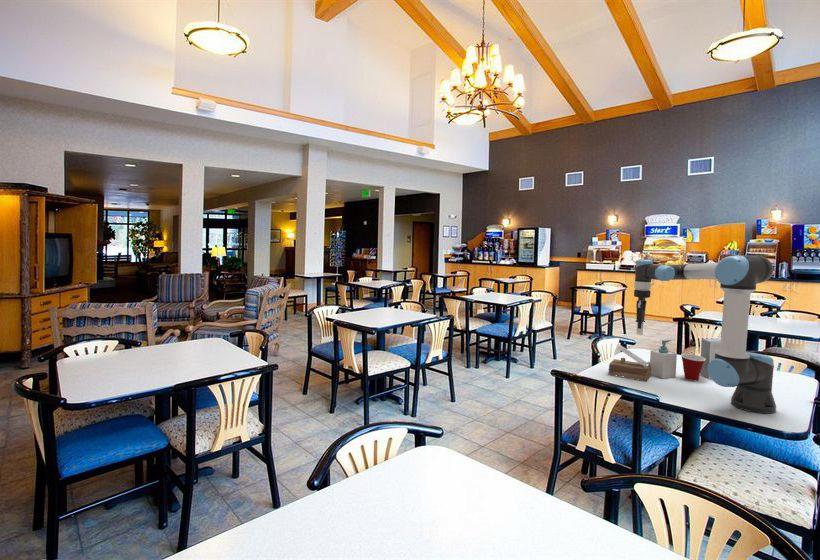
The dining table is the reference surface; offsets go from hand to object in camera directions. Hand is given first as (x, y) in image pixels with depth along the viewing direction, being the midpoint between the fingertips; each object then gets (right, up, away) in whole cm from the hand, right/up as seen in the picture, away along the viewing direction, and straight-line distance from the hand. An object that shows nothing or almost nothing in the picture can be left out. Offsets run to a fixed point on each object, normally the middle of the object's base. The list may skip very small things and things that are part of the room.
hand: (639, 334), depth 227 cm
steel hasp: (-3, -12, +2) cm, 13 cm away
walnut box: (-3, -22, +3) cm, 23 cm away
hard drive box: (+41, -23, 0) cm, 47 cm away
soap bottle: (+14, -22, +3) cm, 27 cm away
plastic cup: (+25, -23, -3) cm, 34 cm away
